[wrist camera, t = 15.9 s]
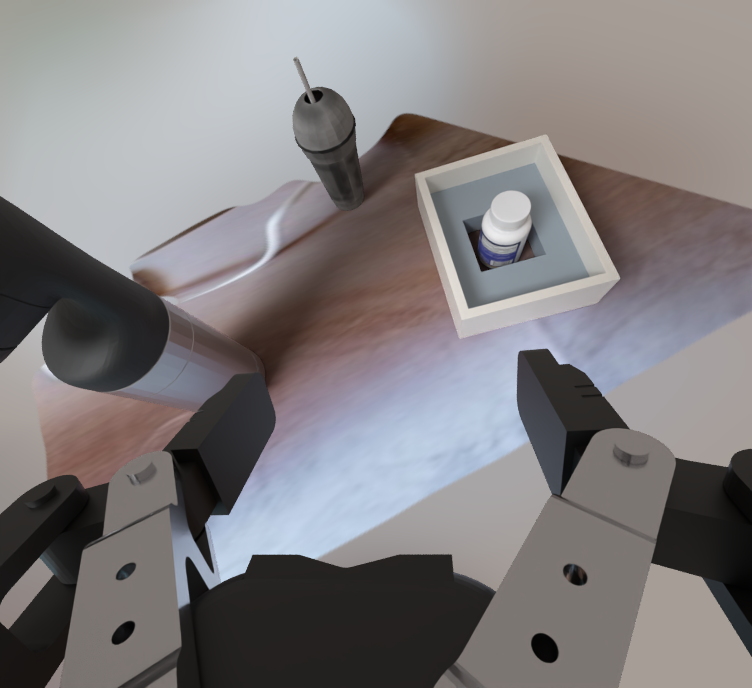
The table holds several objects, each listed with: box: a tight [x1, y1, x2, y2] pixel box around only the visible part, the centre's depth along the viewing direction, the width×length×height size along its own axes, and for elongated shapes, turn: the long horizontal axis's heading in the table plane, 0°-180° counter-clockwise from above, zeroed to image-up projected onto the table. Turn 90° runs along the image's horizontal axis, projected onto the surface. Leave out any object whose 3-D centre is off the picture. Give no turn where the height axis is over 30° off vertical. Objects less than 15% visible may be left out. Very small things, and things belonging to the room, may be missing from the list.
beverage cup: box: [293, 57, 364, 211], centre depth 43 cm, size 7×7×20 cm
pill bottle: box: [477, 191, 532, 269], centre depth 41 cm, size 5×5×9 cm
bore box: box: [415, 134, 621, 339], centre depth 43 cm, size 16×20×6 cm
